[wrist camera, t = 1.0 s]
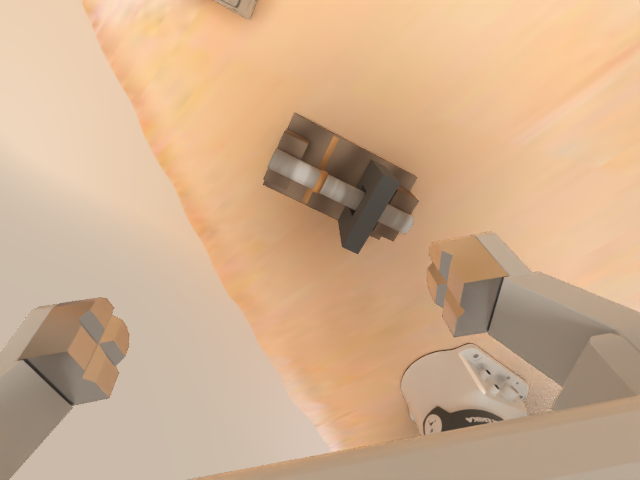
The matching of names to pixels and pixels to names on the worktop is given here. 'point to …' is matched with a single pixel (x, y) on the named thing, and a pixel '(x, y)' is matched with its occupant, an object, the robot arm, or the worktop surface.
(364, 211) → the dark grey flat slab
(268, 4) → the worktop surface
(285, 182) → the pipe stand
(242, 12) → the ink box
